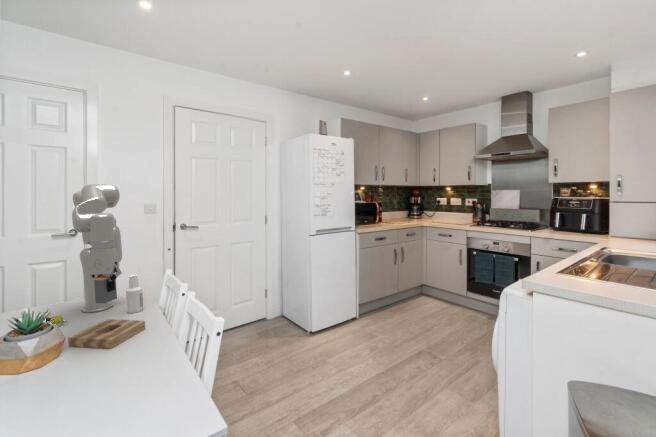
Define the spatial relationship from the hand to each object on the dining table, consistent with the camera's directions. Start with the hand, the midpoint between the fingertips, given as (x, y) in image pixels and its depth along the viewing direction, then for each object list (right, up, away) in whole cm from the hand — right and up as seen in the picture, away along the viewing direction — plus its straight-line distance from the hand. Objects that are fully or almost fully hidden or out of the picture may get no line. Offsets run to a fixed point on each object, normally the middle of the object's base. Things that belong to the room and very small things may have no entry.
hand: (105, 290), depth 125 cm
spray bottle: (-7, -18, +31) cm, 36 cm away
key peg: (0, -4, 0) cm, 4 cm away
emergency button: (-36, -20, +13) cm, 43 cm away
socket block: (0, -19, +1) cm, 19 cm away
